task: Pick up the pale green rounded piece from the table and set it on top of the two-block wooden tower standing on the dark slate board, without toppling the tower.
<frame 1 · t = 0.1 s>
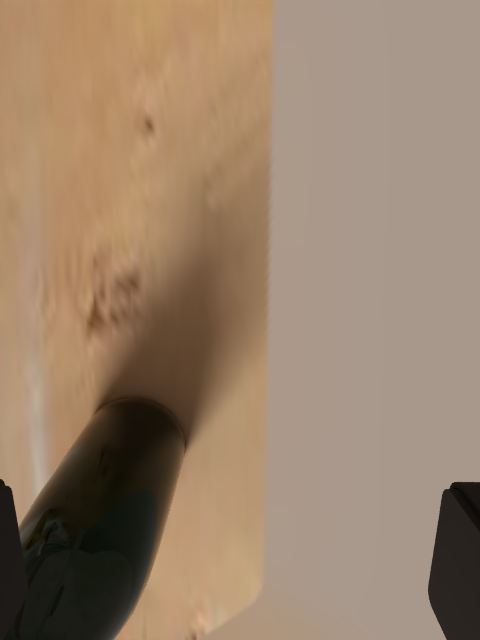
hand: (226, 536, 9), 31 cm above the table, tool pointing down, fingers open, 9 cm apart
beer bottle: (137, 438, 44), on the table
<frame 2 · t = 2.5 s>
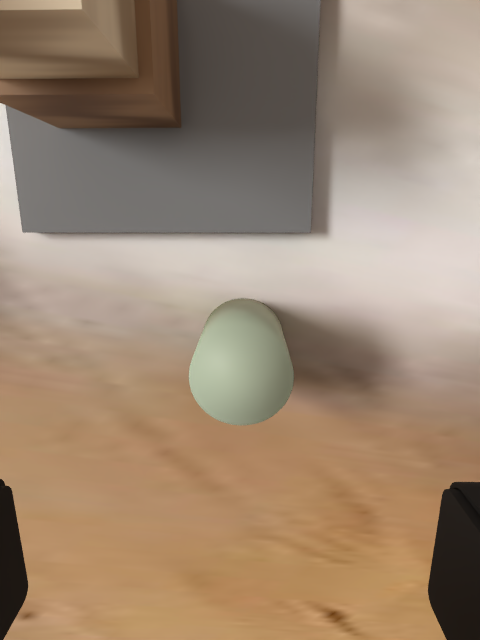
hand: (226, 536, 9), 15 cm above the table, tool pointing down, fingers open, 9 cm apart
tower base: (115, 58, 19), point 1 cm above the table, touching slate board, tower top
pale green rounded piece: (242, 337, 24), on the table
slate board: (163, 110, 21), on the table
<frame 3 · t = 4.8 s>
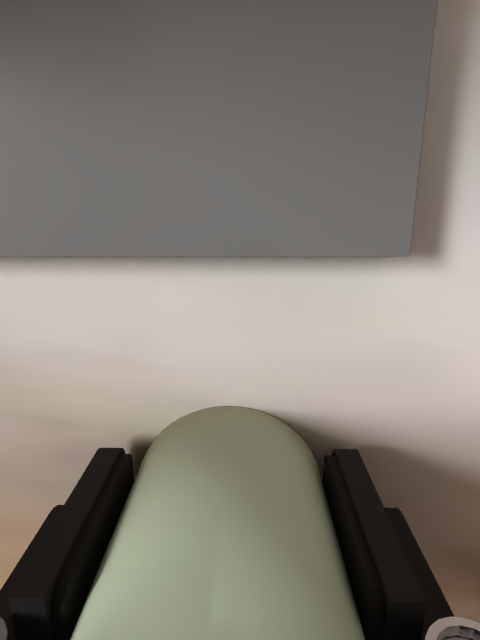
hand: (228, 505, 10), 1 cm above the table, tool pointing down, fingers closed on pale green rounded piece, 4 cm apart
pale green rounded piece: (229, 488, 10), on the table, touching gripper
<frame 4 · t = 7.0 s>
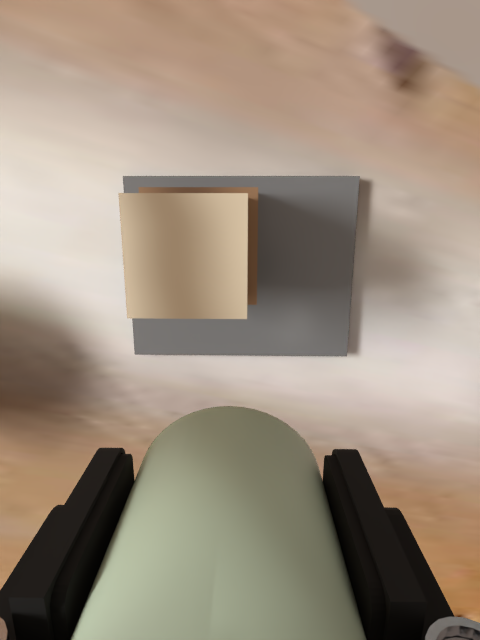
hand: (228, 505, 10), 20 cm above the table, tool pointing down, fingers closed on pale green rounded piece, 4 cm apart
tower base: (210, 240, 27), point 1 cm above the table, touching slate board, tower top
pale green rounded piece: (229, 488, 10), point 20 cm above the table, touching gripper
slate board: (240, 268, 29), on the table
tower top: (199, 247, 21), point 7 cm above the table, touching tower base
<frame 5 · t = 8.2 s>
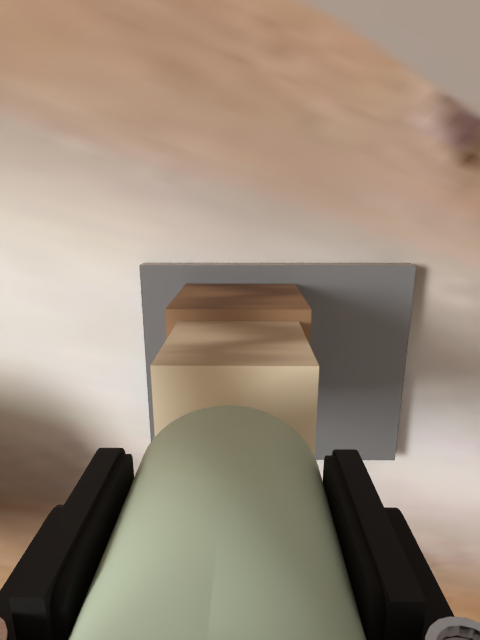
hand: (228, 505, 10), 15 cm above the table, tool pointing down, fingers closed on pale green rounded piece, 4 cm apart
tower base: (240, 335, 23), point 1 cm above the table, touching slate board, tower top
pale green rounded piece: (229, 487, 10), point 14 cm above the table, touching gripper
slate board: (273, 362, 25), on the table
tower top: (238, 377, 18), point 7 cm above the table, touching tower base
when the fingers open (13 cm above the table, at t = 9.2 s): pale green rounded piece stays where it is, resting on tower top.
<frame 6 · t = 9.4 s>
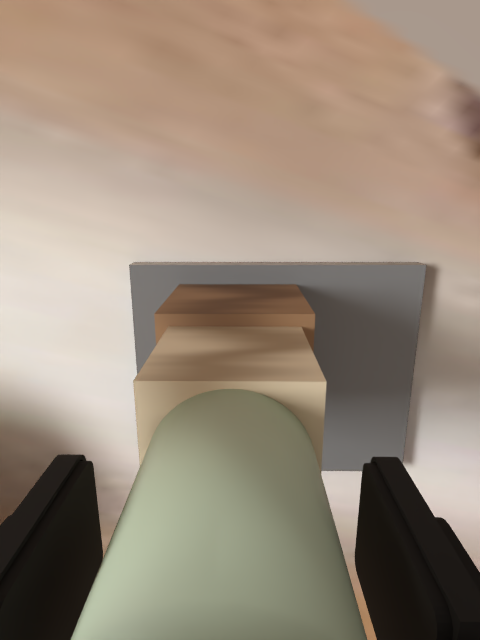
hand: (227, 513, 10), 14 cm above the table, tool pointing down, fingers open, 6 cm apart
tower base: (237, 339, 22), point 1 cm above the table, touching slate board, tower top
pale green rounded piece: (231, 465, 11), point 12 cm above the table, touching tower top
slate board: (273, 368, 23), on the table
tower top: (234, 387, 16), point 7 cm above the table, touching pale green rounded piece, tower base
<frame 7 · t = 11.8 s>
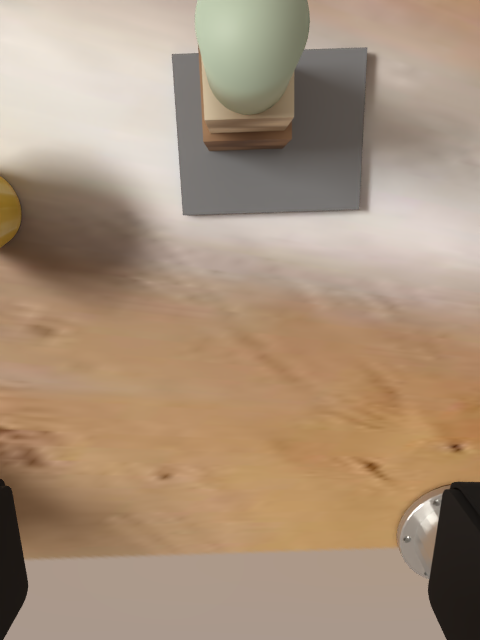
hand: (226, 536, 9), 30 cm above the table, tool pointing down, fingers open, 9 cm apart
tower base: (244, 109, 33), point 1 cm above the table, touching slate board, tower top
pale green rounded piece: (248, 67, 22), point 12 cm above the table, touching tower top
slate board: (269, 137, 34), on the table
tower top: (246, 90, 27), point 7 cm above the table, touching pale green rounded piece, tower base
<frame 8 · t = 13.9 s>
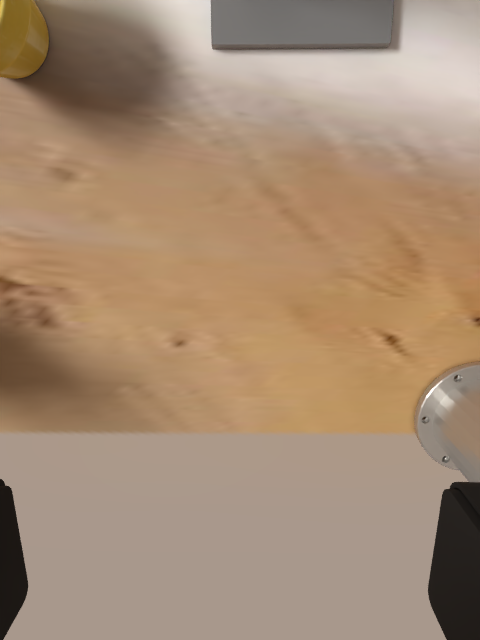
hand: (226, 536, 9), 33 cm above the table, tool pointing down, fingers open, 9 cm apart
plant pot: (11, 37, 36), on the table
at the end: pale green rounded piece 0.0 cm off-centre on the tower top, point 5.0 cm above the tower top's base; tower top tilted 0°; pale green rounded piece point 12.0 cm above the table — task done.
